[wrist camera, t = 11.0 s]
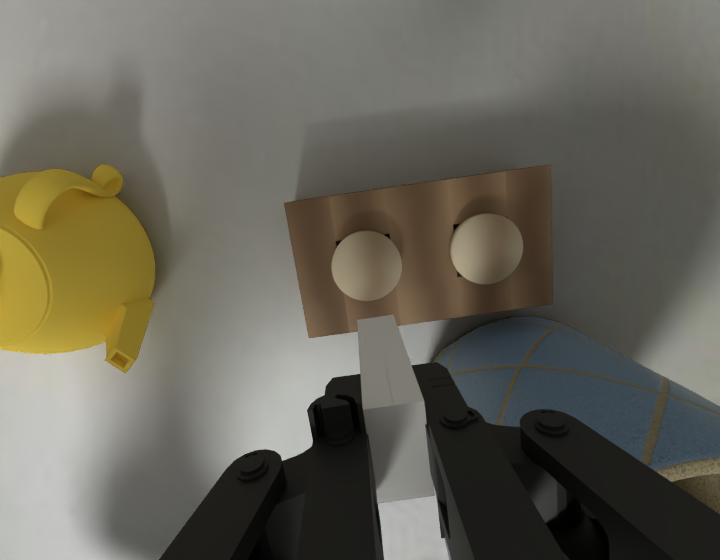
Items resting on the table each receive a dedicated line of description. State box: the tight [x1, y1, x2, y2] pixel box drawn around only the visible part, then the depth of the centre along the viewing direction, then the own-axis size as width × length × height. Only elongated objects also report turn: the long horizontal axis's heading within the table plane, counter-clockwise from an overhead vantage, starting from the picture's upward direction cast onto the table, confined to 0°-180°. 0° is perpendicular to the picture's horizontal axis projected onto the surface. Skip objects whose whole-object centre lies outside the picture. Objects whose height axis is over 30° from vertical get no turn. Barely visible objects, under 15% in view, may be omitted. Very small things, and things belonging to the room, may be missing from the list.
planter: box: [433, 317, 720, 560], centre depth 31 cm, size 23×23×24 cm
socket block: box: [284, 165, 553, 338], centre depth 35 cm, size 22×12×6 cm, turn 98°
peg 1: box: [331, 230, 402, 301], centre depth 34 cm, size 6×6×7 cm
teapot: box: [0, 164, 155, 373], centre depth 32 cm, size 20×19×13 cm
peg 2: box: [449, 213, 523, 284], centre depth 34 cm, size 6×6×7 cm
